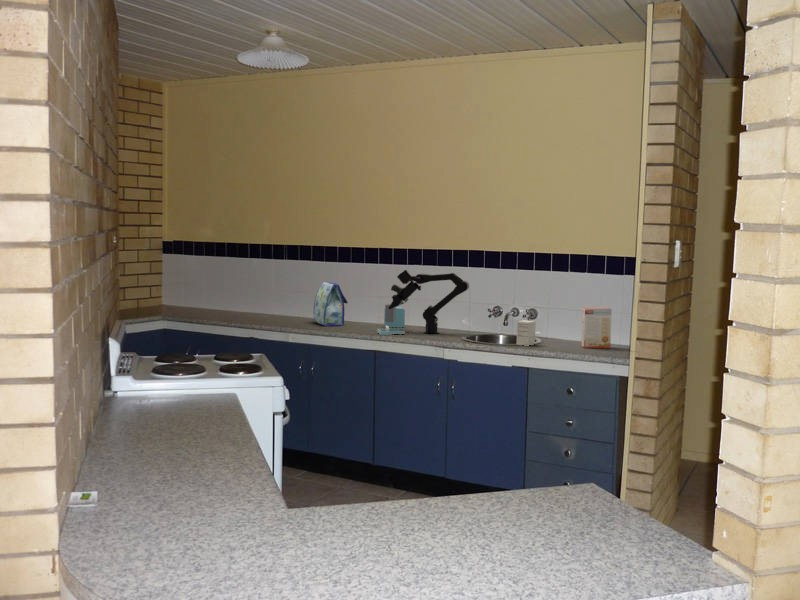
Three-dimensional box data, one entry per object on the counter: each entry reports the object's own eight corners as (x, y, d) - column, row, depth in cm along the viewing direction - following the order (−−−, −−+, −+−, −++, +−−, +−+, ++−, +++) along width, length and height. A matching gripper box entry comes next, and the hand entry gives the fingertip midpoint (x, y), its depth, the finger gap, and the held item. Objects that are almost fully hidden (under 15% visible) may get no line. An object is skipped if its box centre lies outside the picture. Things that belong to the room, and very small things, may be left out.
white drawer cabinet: (523, 343, 424) (523, 319, 423) (535, 344, 419) (536, 321, 418) (515, 344, 418) (516, 320, 417) (528, 346, 414) (528, 322, 412)
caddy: (400, 332, 459) (400, 324, 459) (405, 334, 449) (405, 327, 448) (376, 332, 456) (376, 325, 456) (381, 335, 445) (381, 327, 445)
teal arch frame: (403, 326, 486) (404, 307, 485) (404, 327, 482) (404, 308, 481) (384, 326, 485) (384, 307, 484) (384, 327, 481) (385, 308, 480)
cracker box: (607, 346, 417) (608, 307, 415) (610, 348, 411) (612, 308, 409) (580, 346, 416) (582, 306, 414) (583, 348, 410) (585, 307, 408)
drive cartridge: (395, 321, 466) (395, 304, 465) (393, 322, 461) (393, 305, 460) (387, 320, 467) (387, 304, 466) (385, 321, 462) (385, 304, 461)
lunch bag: (348, 325, 487) (349, 283, 484) (323, 326, 479) (323, 283, 477) (335, 321, 506) (336, 280, 504) (311, 322, 499) (311, 281, 497)
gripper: (403, 279, 470) (384, 296, 473) (395, 280, 451) (376, 299, 455) (415, 292, 468) (397, 310, 472) (408, 295, 450) (389, 313, 454)
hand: (390, 308), depth 463 cm, fingers closed on drive cartridge, 5 cm apart
